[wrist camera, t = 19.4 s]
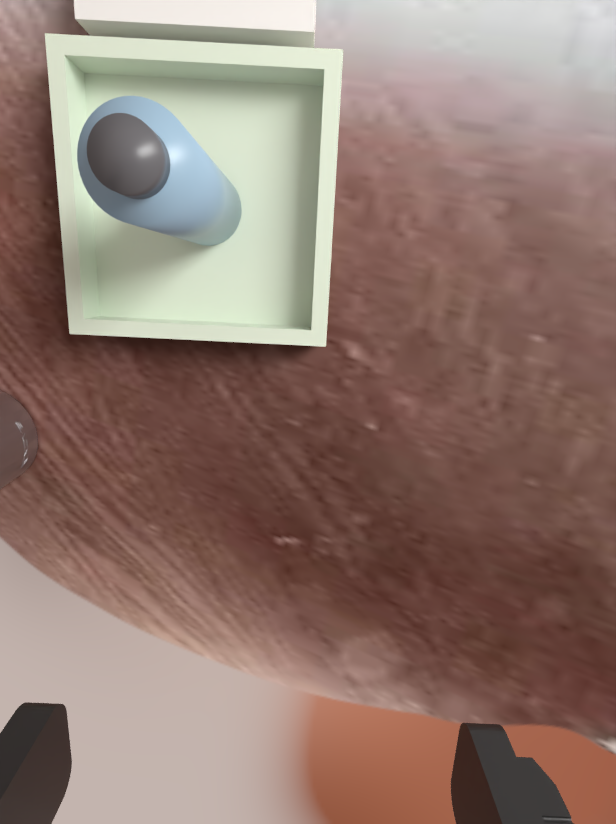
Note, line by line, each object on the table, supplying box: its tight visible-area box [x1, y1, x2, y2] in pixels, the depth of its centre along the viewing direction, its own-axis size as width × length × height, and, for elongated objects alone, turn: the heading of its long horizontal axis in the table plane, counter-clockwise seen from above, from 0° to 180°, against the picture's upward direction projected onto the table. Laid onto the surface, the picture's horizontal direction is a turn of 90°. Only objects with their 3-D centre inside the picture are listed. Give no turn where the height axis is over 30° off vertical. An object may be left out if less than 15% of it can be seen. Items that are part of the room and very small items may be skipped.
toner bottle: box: [77, 96, 242, 246], centre depth 30 cm, size 6×6×18 cm
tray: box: [45, 33, 343, 347], centre depth 37 cm, size 20×20×4 cm
